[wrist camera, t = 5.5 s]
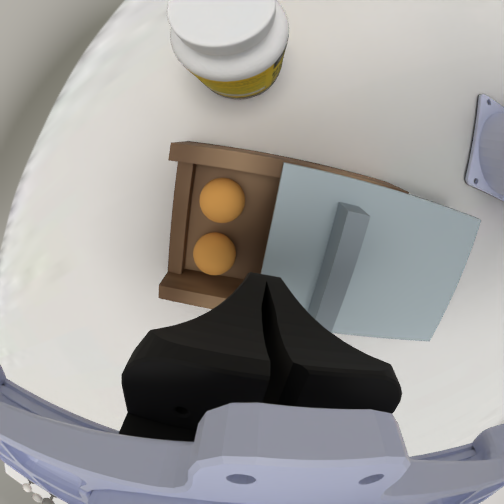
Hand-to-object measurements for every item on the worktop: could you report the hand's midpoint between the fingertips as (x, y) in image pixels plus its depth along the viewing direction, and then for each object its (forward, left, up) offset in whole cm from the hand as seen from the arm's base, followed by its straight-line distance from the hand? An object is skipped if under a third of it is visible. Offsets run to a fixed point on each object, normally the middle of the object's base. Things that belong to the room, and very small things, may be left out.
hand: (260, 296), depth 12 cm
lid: (-7, 0, -6) cm, 9 cm away
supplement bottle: (+4, -11, -10) cm, 15 cm away
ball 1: (+3, -2, -9) cm, 9 cm away
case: (-1, 0, -10) cm, 10 cm away
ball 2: (+3, +2, -9) cm, 9 cm away
